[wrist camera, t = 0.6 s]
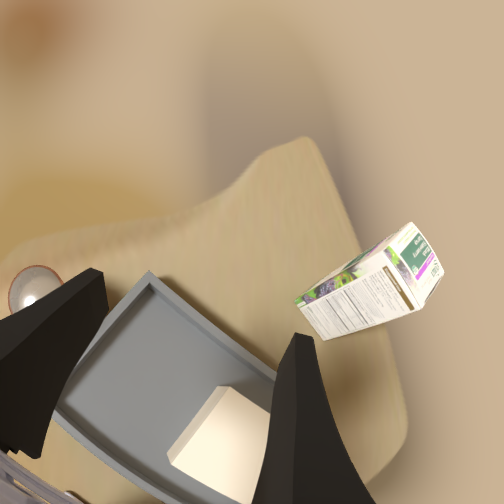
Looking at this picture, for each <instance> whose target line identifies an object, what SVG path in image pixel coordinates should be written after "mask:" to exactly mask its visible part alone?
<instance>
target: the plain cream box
mask: <svg viewBox="0 0 504 504" xmlns="http://www.w3.org/2000/svg"><path fill="white" fill-rule="evenodd" d="M269 421H270V413H268V412H266V411H265V410H263V409H262V408H260V407H259V406H257V405H256V404H254V403H253V402H251V401H250V400H249V399H247V398H246V397H244V396H243V395H241V394H240V393H238V392H237V391H236V390H234V389H233V388H231V387H230V386H217V387H216V389H215V390H214V392H213V393H212V394H211V396H210V397H209V398H208V400H207V401H206V402H205V404H204V405H203V406H202V408H201V409H200V410H199V412H198V413H197V414H196V416H195V417H194V418H193V419H192V421H191V422H190V423H189V425H188V426H187V427H186V429H185V430H184V431H183V432H182V434H181V435H180V436H179V438H178V439H177V440H176V441H175V443H174V444H173V445H172V447H171V448H170V449H169V450H168V452H167V456H168V458H169V461H170V463H171V465H173V466H174V467H176V468H178V469H179V470H181V471H182V472H184V473H186V474H187V475H189V476H191V477H192V478H194V479H196V480H198V481H199V482H201V483H203V484H205V485H206V486H208V487H210V488H212V489H214V490H216V491H218V492H219V493H221V494H223V495H225V496H227V497H229V498H231V499H233V500H235V501H237V502H239V503H242V504H251V503H252V499H253V496H254V493H255V489H256V486H257V482H258V478H259V475H260V471H261V467H262V463H263V459H264V455H265V450H266V444H267V437H268V429H269Z"/></svg>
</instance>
